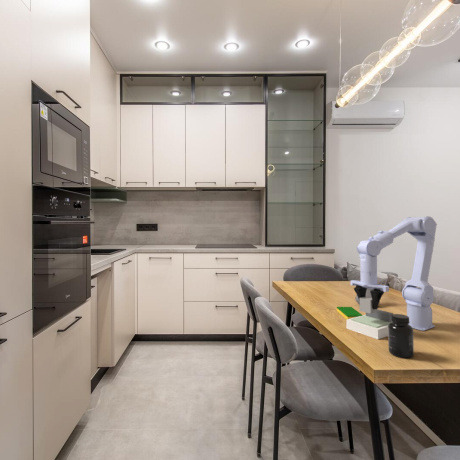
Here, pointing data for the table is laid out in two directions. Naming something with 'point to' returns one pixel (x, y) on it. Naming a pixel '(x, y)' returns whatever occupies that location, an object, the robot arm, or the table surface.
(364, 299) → the grey block
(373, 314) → the trapdoor
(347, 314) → the dish sponge
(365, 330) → the trapdoor frame
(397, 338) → the supplement bottle
